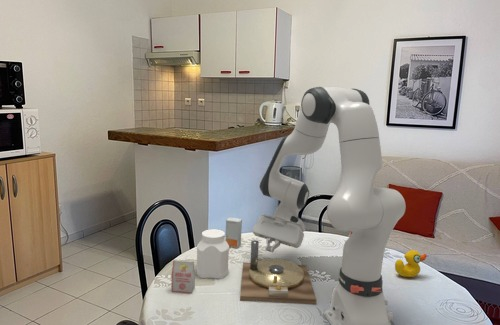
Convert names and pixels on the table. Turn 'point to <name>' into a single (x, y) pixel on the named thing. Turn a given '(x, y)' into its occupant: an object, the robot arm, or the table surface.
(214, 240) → the jar
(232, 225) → the skincare box
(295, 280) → the crank wheel
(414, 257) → the duckling
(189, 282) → the small printed food carton
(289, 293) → the wooden wheel stand
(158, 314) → the table surface
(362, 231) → the robot arm
